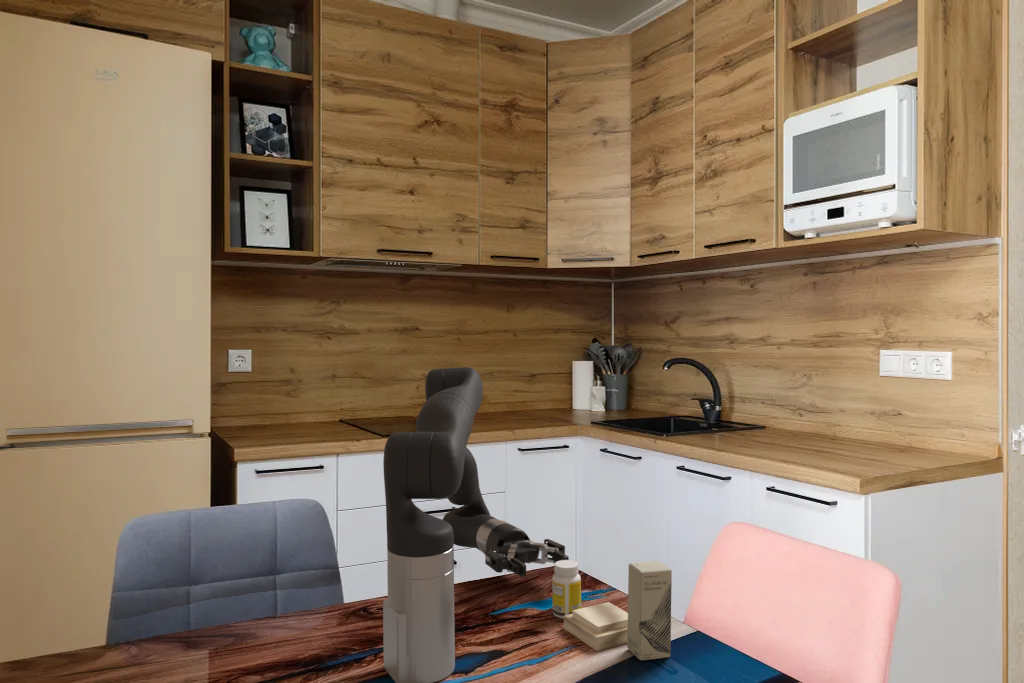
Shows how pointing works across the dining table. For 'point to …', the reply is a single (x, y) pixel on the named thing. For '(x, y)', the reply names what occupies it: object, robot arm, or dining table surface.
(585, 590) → the dining table surface
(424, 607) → the robot arm
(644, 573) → the box
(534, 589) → the dining table surface
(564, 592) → the supplement bottle
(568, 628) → the cream stand
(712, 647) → the dining table surface
